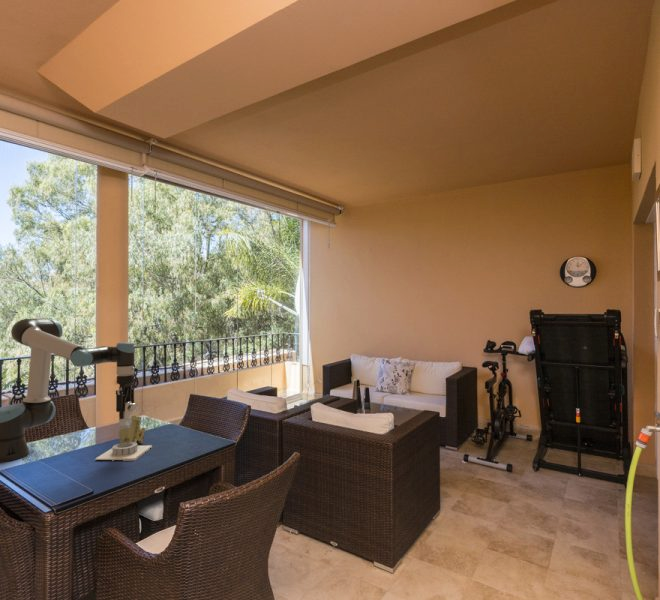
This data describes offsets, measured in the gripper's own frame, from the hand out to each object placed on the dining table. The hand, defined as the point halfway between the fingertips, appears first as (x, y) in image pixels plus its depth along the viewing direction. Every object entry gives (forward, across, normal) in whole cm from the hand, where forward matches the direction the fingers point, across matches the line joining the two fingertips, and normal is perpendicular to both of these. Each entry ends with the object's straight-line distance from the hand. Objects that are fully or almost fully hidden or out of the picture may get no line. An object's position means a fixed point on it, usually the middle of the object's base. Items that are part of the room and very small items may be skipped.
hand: (125, 423), depth 195 cm
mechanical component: (+15, +16, +3) cm, 22 cm away
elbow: (+2, 0, -1) cm, 2 cm away
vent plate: (+14, 0, 0) cm, 14 cm away
